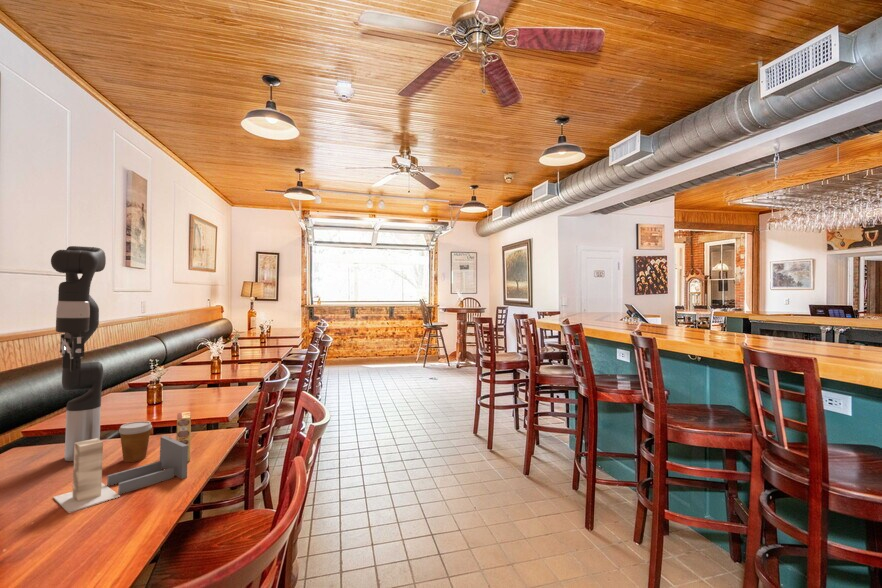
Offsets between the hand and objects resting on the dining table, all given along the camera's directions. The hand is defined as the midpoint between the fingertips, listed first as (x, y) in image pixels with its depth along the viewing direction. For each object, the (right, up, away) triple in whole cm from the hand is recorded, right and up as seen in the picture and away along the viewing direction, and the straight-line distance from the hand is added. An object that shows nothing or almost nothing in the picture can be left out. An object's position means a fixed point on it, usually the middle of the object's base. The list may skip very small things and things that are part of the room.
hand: (71, 369), depth 123 cm
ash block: (+13, -34, -9) cm, 37 cm away
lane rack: (+21, -35, +3) cm, 41 cm away
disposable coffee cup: (+4, -35, +20) cm, 41 cm away
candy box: (+21, -36, +21) cm, 46 cm away
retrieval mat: (+13, -34, -9) cm, 38 cm away
